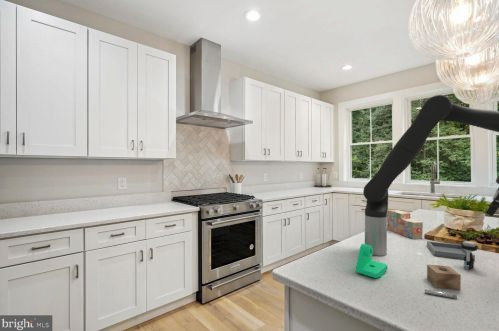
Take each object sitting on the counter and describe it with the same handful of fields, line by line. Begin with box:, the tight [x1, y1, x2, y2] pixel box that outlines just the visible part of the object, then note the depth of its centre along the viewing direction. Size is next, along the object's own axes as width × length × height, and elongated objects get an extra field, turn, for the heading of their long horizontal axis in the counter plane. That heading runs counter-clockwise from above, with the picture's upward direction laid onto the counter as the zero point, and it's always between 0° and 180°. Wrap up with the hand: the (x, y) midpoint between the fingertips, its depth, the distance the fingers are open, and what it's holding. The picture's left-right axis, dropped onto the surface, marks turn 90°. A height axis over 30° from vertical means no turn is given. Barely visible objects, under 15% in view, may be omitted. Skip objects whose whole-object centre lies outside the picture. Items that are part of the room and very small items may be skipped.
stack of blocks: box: [387, 209, 424, 240], centre depth 148 cm, size 21×6×12 cm, turn 6°
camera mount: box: [355, 243, 388, 279], centre depth 96 cm, size 12×8×10 cm, turn 134°
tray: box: [426, 240, 476, 262], centre depth 116 cm, size 14×15×2 cm
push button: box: [459, 240, 479, 270], centre depth 100 cm, size 7×5×10 cm
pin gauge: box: [424, 289, 458, 299], centre depth 79 cm, size 8×1×1 cm, turn 66°
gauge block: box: [426, 264, 462, 291], centre depth 87 cm, size 7×7×5 cm
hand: (490, 211), depth 98 cm, fingers open, 8 cm apart
